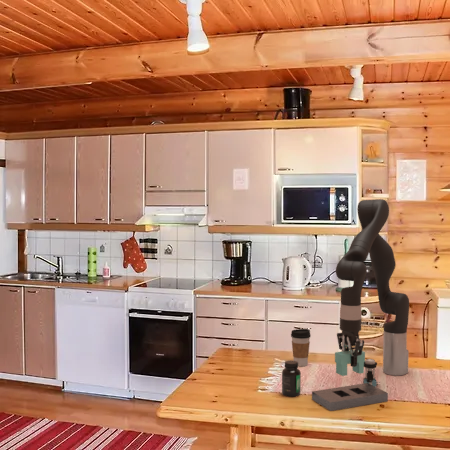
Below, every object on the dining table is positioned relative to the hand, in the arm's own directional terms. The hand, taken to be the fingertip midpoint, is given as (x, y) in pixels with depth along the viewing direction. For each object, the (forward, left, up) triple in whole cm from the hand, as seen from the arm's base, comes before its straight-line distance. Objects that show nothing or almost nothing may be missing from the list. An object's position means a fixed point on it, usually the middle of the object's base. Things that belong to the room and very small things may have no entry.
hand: (349, 364), depth 208 cm
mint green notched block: (0, 0, -3) cm, 3 cm away
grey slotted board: (0, 0, -13) cm, 13 cm away
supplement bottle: (+16, -14, -13) cm, 25 cm away
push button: (-17, -10, -13) cm, 24 cm away
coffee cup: (-6, -45, -13) cm, 47 cm away
